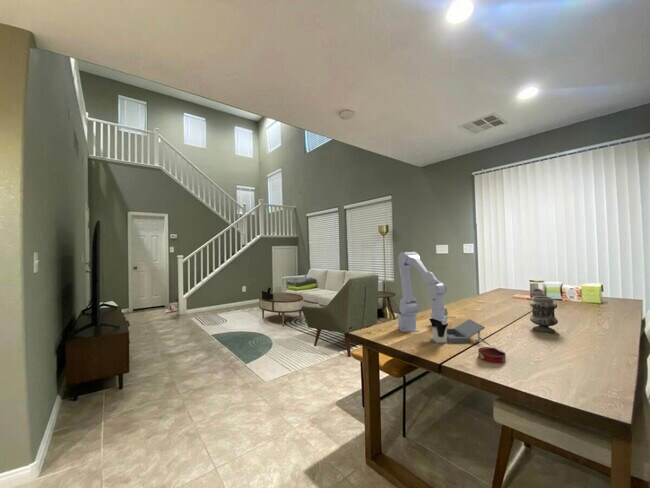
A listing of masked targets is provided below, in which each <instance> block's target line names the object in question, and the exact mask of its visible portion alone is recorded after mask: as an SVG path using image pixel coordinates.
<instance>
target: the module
mask: <svg viewBox="0 0 650 488" xmlns="http://www.w3.org/2000/svg"><path fill="white" fill-rule="evenodd" d="M446 329H447V328H446ZM446 329H445V332H444V336H443V337H439V336H438V330H437V327H432V338H433V340H434V341H436V342H448V341H447V330H446Z"/></svg>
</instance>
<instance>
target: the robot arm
mask: <svg viewBox="0 0 650 488" xmlns="http://www.w3.org/2000/svg"><path fill="white" fill-rule="evenodd" d="M397 259H398V260H397V261H398V269H399V275H400V284H401V290H402V291H401V293H402V298H401V299H400V300H399V306H398V307H399V308H398V310H399V312H400V313H401V314H400V313H399V314H398V316H397V321H398V323H397V324H398V326H397V329H398V330H400V332H401V333H407V332H408V333H409V332H410V333H412V332H413V333H415V332H419V331H420V330H419V329H418V328H417V314H418V312H419V309H420V306H419V304H418V300H417V298H415V296H413V295H414V294H413V289H412V288H413V287H412V280H411V272H410V269H411V267H412V266H414V267H415V269H416V271H418V272H419V274H421V279H422V280H423V282H424V283H425V284H426V286H427V287H428V292H429V294H430V298H431V312H430V317H429V318H428V319H429V321H430V324H431V326H432V328H433V327H437V330H438V336H439V337H443V336H444V332H445V329H447V327H448V326H449V324H448V315H447V316H444V308H445V294H447V286H446V285H445V283H444V282H441V281H439V280H438V278H437V277H436V276H435V274H434V273H433V272H432V271H428V270H427V268H426V267H425V265H424V263H423V262H422V260H421V257H420V255H419V253H418V252H417V251H405V252H404V251H400V253H399V254H398V256H397ZM445 318H447V320H446V319H445Z"/></svg>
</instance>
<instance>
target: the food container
mask: <svg viewBox="0 0 650 488" xmlns="http://www.w3.org/2000/svg"><path fill="white" fill-rule="evenodd" d="M448 315H449V310H448V309H447V308H446V307H444V316H447V318H445V319H446V320H447V321H448Z"/></svg>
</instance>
